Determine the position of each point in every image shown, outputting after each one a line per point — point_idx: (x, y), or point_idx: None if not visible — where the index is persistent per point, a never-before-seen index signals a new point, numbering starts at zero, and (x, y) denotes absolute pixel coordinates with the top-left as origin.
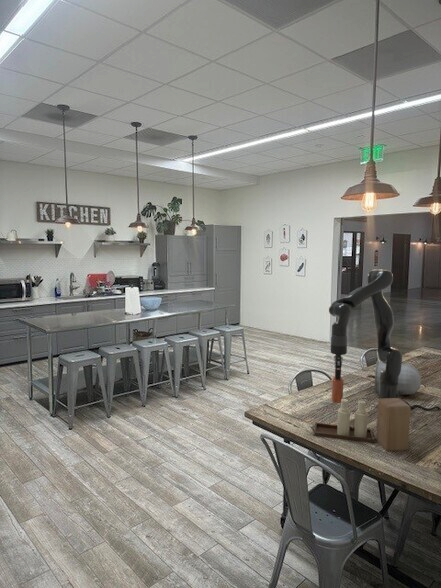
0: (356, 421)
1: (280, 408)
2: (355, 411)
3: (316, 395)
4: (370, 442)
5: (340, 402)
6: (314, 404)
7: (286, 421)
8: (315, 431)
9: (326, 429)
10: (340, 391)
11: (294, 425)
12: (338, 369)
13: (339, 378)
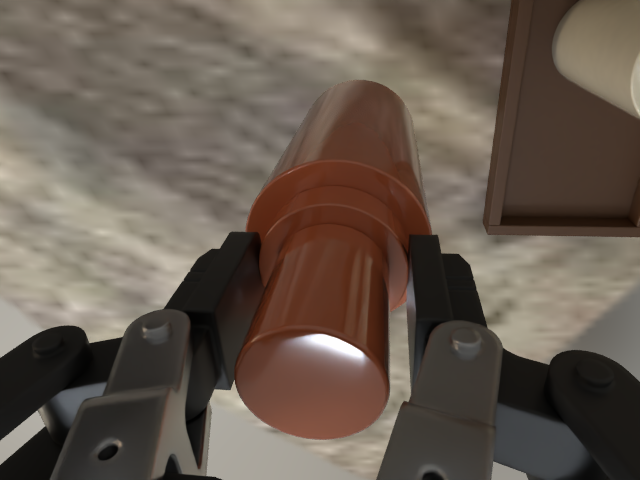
0: None
1: None
2: None
3: (3, 221)
4: None
5: (403, 102)
6: (150, 230)
7: None
8: (632, 230)
9: (536, 157)
10: (412, 143)
11: (488, 322)
12: (591, 460)
13: (439, 252)
